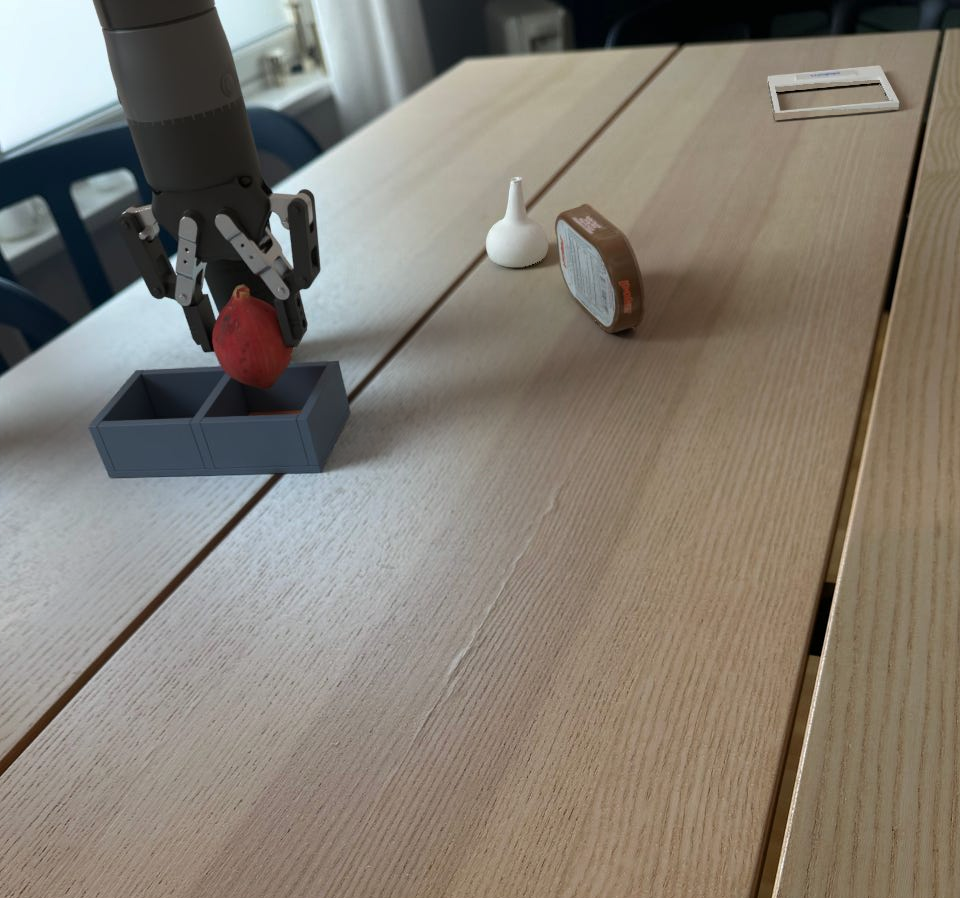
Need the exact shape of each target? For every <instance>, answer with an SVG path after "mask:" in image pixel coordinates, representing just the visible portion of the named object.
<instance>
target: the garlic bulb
mask: <svg viewBox="0 0 960 898" xmlns="http://www.w3.org/2000/svg"><path fill="white" fill-rule="evenodd" d="M522 181H523V177H521V176H514V177H513V176H512V177H511V178H510V182H509V185H510V186H509V192H508V199H507V206H506V211H505V215H504V217H503V218H502V219H500V220H498V221H497V222H495V223H494V224H493V225H492V226H491V228H490V229H489V231H488V233H487V235H486V240H485V249H486V253H487V256H488V258H489V260H491V261H492V262H493V263H494V264H496V265H499V266H501V267H506V268H525V266H526V267H530V266H533V265H532V264H534V265H536V264H538V263H540V262H542V261H543V260H544V259H545V258H546V256H547V254H548V250H549V237H548V234H547V232H546V230H545V228H544V227H543V226H542V225H541V223H540V222H539V221H537V220H535V219H534V218H532V217H529V216H528V213H527V208H526V203H525V198H524V197H525V196H524V191H523V184H522ZM542 259H543V260H542ZM539 261H540V262H539ZM537 262H538V263H537ZM535 263H536V264H535ZM529 265H530V266H529Z"/></svg>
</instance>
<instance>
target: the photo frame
mask: <svg viewBox="0 0 960 898" xmlns="http://www.w3.org/2000/svg"><path fill="white" fill-rule="evenodd" d="M865 80H866V81H867V80H880V82H881V84H882V86H883V88H884V90H885V92H886V94H887V96H888V98H889V100H890V101H888V100H885V101H876V102H864V103H854V104H853V103H852V104H843V105H829V106H819V107H807V108H797V109H787V110H786V109H785V110H781V107H780V103H779V99H778V98H779V97H778V93H776V89H775V87H782V86H783V87H784V86H793V85H794V86H795V85H803V84H814V83H830V82H853V81H865ZM768 81H769V86H770V91H771V96H772V101H773V105H774V110H775V113H785V112H786V113H787V112H799V111H811V110H812V111H813V110H832V109H835V110H836V109H841V110H844V109H847V110H848V109H862V108H879V107H880V108H882V107H883V108H884V107H898V108H899V106H900V101H899V99H898V97H897V95H896V93H895V91H894V90H893V87H892V85H891V84H890V82H889V79H888V78H887V76H886V74H885V72H884V70H883V68H882V67H881V65H879V64H878V65H869V66H859V67H848V68H838V69H828V70H820V71H819V70H817V71H807V72H794V73H787V74H786V73H785V74H775V75H774V74H773V75H768V76H767V82H768ZM892 100H893V101H892Z"/></svg>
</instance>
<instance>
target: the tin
mask: <svg viewBox="0 0 960 898" xmlns="http://www.w3.org/2000/svg"><path fill="white" fill-rule="evenodd" d="M554 232H555V236H556V244H557V251H558V258H559V259H558V262H559V263H558V264H559V269H560V272H561V275H562V278H563V282H564V284H565V286H566V288H567V291H568V293H569V294H570V296H571V297H572V299H573V298H574V299H573V300H574V301H575V300H576V301H575V302H576V303H577V305H579V306H580V308H581V309H583V310H584V312H585V313H586V314H588V316H589V317H590V316H591V317H592V318H593V319H594V320H596V322H597V323H598V324H599V325H601V326H602V327H603V328H604V329H605V331H604V332H606V331H607V332H606V333H608V334H615V333H618V332H623V331H625V330H628V329H631V328H633V327H634V328H633V329H635V328H638V327H640V325H641V324H642V322H643V320H644V316H645V309H646V308H645V307H646V303H645V302H646V301H645V300H646V299H645V298H646V297H645V289H644V288H645V287H644V282H643V278H642V274H641V273H642V272H641V268H640V265H639V262H638V258H637V255H636V253H635V251H634V248H633V246H632V245H631V242H630V241H629V238H628V237H627V235H626V234H625V233H624V232H623V231H622V230H621V229H620V228H618V227H617V226H616V225H615V224H614V223H612V222H611V221H610V220H608V219H607V218H606V217H605V216H603V214H601V213H600V212H599V211H598V210H596V209H595V208H594V207H593V206H591V205H590V204H589V203H583V204H581V205H580V206H577V207H573V208H570V209H567V210H564V211H562V212H560V213H559V214H558V215H557V216H556V218H555V222H554ZM591 317H590V318H591ZM592 318H591V319H592ZM593 319H592V320H593ZM594 320H593V321H594ZM596 322H595V323H596ZM597 323H596V324H597ZM598 324H597V325H598ZM599 325H598V326H599Z"/></svg>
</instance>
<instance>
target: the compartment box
mask: <svg viewBox="0 0 960 898" xmlns="http://www.w3.org/2000/svg"><path fill="white" fill-rule="evenodd" d="M350 414H351V407H350V404H349V400H348V396H347V390H346V387H345V381H344V377H343V374H342V369H341V365H340V360H323V361H320V360H319V361H303V362H302V361H301V362H300V361H299V362H290V363H289V365H288V366H287V368H286V369H285V370H284V372H283V373H282V374H281V375H280V376H279V377H278V379H277V380H276V382H275V384H274V385H273V386H272V387H271V388H269V389H261V388H258V387H254V386H251V385H247V384H244V383H242V382H239V381H237V380H235V379H234V378H232V377H230V376H229V375H228V374H227V373H226V372H225V371H224V370H223V369H222V368H221V366H219V365H218V366H217V365H216V366H198V367H177V368H176V367H175V368H173V367H172V368H155V369H136V370H134V372H133V373H132V374H131V376H130V377H129V378H128V379H127V380H126V381H125V382H124V384H123V385H122V386H121V387H120V388H119V390H117V392H116V393H115V394H114V395H113V396H112V397H111V399H110V400H109V401H108V402H107V403H106V404H105V406H104V407H103V408H102V409H101V411H100V412H99V413H98V414H97V415H96V417H94V419H93V420H92V421H90V422H91V423H89V424H88V426H87V429H88V431H89V433H90V436H91V437H92V439H93V443H94V445H95V447H96V449H97V452H98V454H99V456H100V459H101V461H102V464H103V466H104V468H105V471H106V473H107V476H108V478H110V479H114V478H115V479H116V478H119V479H121V478H153V477H154V478H156V477H195V476H199V477H200V476H233V475H236V476H238V475H239V476H240V475H270V474H273V475H274V474H313V473H322V472H323V469H324V468H325V465H326V464H327V461H328V459H329V457H330V455H331V453H332V451H333V449H334V446H335V444H336V443H337V440H338V438H339V437H340V435H341V433H342V430H343V428H344V426H345V424H346V422H347V420H348V419H349V416H350Z"/></svg>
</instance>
